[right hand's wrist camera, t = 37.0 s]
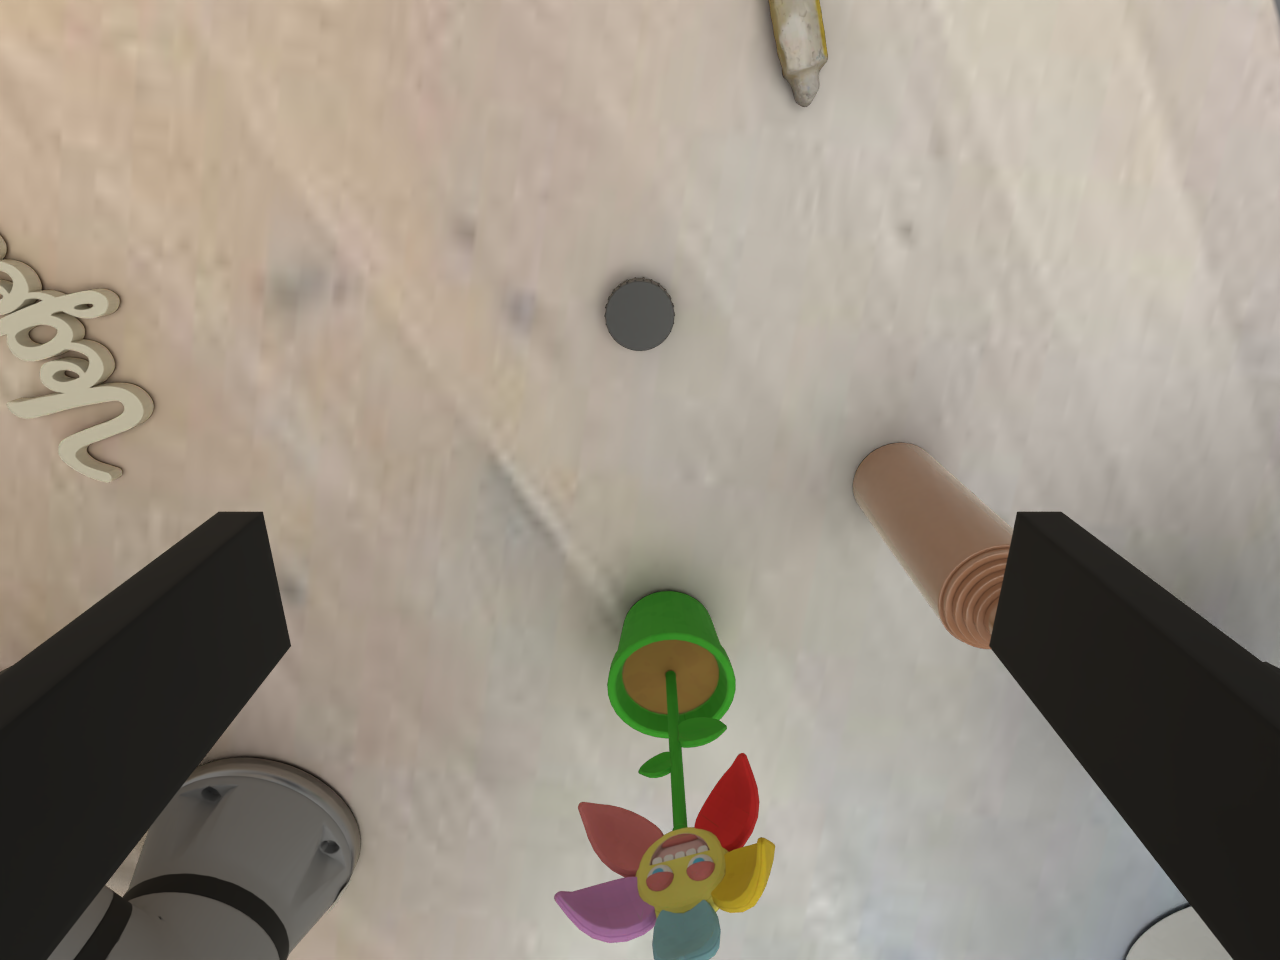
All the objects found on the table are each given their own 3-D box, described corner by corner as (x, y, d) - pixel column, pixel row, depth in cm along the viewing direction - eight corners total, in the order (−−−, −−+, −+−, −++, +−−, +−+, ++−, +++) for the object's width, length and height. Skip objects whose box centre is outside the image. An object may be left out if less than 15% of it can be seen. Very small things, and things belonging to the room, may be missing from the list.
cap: (664, 353, 43) (665, 358, 42) (599, 337, 43) (597, 343, 41) (681, 286, 42) (682, 289, 40) (613, 269, 41) (612, 272, 40)
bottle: (835, 484, 46) (950, 654, 29) (900, 425, 45) (1062, 567, 28) (889, 535, 48) (1030, 727, 30) (954, 480, 46) (1141, 647, 29)
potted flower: (711, 561, 48) (778, 903, 25) (744, 654, 51) (833, 1041, 28) (579, 602, 49) (526, 965, 26) (619, 691, 52) (602, 1092, 29)
